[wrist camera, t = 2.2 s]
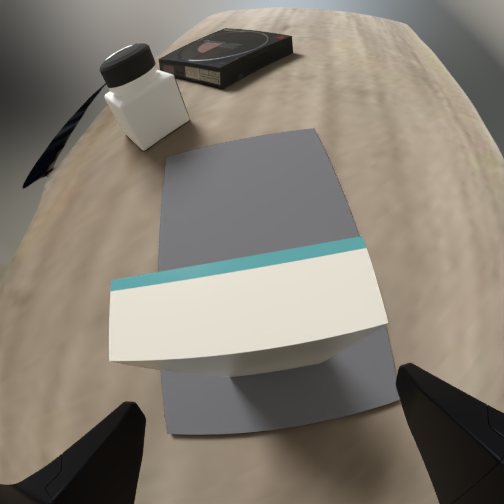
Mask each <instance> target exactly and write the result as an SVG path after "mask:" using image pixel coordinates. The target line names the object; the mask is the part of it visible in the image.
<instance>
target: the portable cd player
mask: <svg viewBox="0 0 504 504" xmlns="http://www.w3.org/2000/svg"><path fill="white" fill-rule="evenodd" d="M292 53H293V46H292V36H288V35H282V34H276V33H269V32H261V31H252V30H242V29H227V28H225V29H223V30H220V31H217V32H215V33H213V34H210V35H208V36H205V37H203V38H201V39H198V40H196V41H194V42H192V43H190V44H188V45H185V46H183V47H181V48H179V49H177V50H175V51H173V52H171V53H169V54H168V55H166V56H164V57H162V58H160V59H159V65H160V71H163V72H166V73H169V74H172V75H174V76H175V77H176V78H181V79H186V80H190V81H195V82H199V83H203V84H207V85H211V86H214V87H218V88H222V89H225V88H226V87H228V86H230V85H231V84H233V83H235V82H237V81H238V80H240V79H242V78H244V77H245V76H247V75H249V74H251V73H253V72H255V71H257V70H259V69H261V68H262V67H264V66H266V65H268V64H270V63H272V62H275V61H277V60H279V59H281V58H283V57H285V56H287V55H289V54H292Z"/></svg>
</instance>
